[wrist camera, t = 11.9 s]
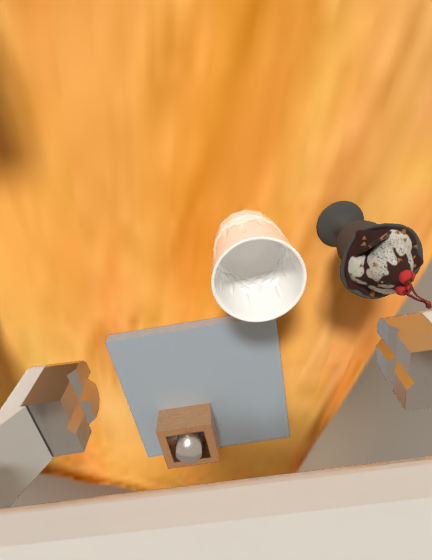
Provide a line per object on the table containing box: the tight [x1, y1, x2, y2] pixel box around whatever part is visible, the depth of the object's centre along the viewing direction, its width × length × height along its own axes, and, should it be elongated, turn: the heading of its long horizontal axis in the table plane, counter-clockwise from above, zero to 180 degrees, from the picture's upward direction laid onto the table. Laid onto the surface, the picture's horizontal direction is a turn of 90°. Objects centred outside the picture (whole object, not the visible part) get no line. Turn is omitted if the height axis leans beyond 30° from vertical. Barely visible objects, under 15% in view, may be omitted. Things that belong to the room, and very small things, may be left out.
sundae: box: [317, 201, 431, 309], centre depth 32 cm, size 7×7×15 cm
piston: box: [176, 432, 202, 463], centre depth 47 cm, size 3×3×4 cm
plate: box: [105, 316, 290, 457], centre depth 47 cm, size 20×20×2 cm
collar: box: [156, 403, 220, 469], centre depth 47 cm, size 7×7×4 cm
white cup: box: [211, 210, 307, 322], centre depth 35 cm, size 8×8×10 cm
